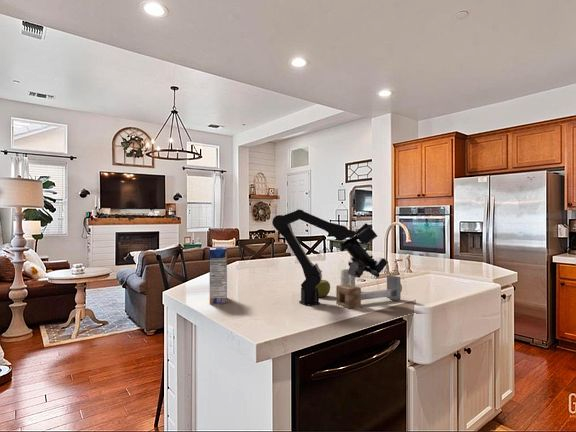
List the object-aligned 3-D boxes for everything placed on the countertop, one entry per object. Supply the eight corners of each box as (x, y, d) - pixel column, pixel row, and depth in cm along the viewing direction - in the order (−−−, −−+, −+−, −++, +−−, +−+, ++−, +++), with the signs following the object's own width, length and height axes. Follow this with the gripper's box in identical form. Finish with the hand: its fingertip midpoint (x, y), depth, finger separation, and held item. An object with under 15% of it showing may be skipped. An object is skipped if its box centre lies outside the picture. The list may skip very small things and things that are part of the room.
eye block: (348, 308, 136) (348, 289, 136) (336, 304, 143) (336, 285, 143) (360, 307, 138) (360, 287, 139) (348, 302, 146) (348, 284, 146)
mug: (353, 289, 174) (353, 264, 174) (360, 294, 162) (360, 267, 162) (338, 289, 173) (338, 264, 173) (344, 294, 161) (344, 268, 161)
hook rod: (356, 305, 139) (356, 281, 139) (347, 302, 144) (347, 278, 144) (402, 299, 149) (402, 276, 149) (392, 296, 154) (392, 274, 155)
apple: (328, 299, 153) (328, 282, 153) (310, 297, 155) (310, 281, 155) (331, 295, 160) (331, 279, 160) (314, 294, 162) (314, 278, 162)
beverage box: (209, 304, 143) (209, 249, 144) (210, 298, 154) (210, 247, 154) (226, 303, 145) (226, 249, 145) (226, 297, 156) (226, 247, 156)
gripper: (331, 263, 148) (353, 287, 153) (359, 269, 131) (382, 296, 136) (347, 243, 152) (367, 268, 157) (376, 247, 135) (398, 274, 140)
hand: (378, 276), depth 147 cm, fingers closed
